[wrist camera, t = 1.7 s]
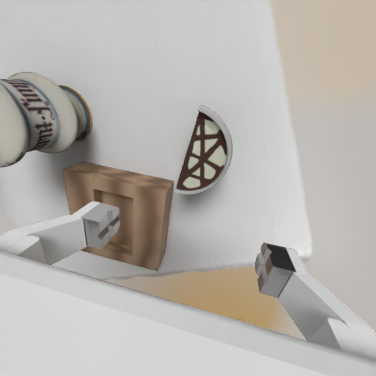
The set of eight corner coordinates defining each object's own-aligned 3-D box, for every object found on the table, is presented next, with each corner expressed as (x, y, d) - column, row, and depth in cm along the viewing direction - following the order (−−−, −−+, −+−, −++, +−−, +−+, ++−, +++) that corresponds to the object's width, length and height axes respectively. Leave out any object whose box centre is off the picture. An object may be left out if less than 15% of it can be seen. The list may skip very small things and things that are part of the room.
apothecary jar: (81, 158, 37) (-28, 197, 21) (32, 116, 35) (-130, 124, 19) (108, 113, 32) (-7, 118, 16) (52, 61, 30) (-143, 7, 14)
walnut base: (91, 234, 46) (76, 249, 41) (83, 161, 37) (62, 169, 32) (164, 252, 44) (157, 271, 39) (173, 181, 35) (165, 192, 30)
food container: (215, 182, 34) (212, 209, 25) (185, 172, 34) (172, 195, 25) (242, 117, 28) (251, 122, 19) (206, 105, 29) (199, 104, 20)
